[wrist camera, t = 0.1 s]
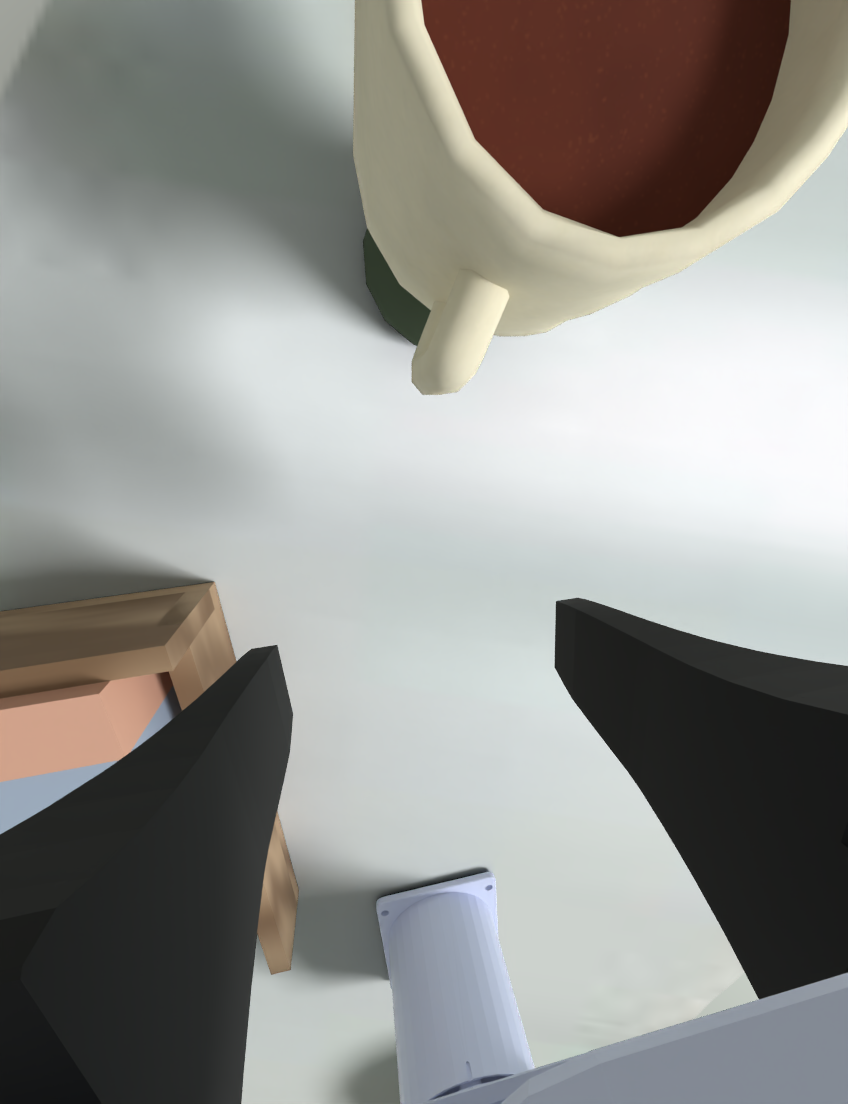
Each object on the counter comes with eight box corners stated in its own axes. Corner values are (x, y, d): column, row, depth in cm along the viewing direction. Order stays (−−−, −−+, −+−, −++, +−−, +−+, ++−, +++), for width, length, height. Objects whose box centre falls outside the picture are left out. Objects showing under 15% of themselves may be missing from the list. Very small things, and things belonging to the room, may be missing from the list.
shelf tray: (298, 890, 26) (286, 1009, 21) (144, 926, 25) (91, 1061, 20) (214, 582, 19) (164, 645, 14) (-4, 611, 18) (-145, 693, 13)
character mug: (463, 434, 19) (659, 477, 7) (309, 364, 17) (217, 258, 5) (577, 170, 17) (1186, -468, 5) (412, 54, 15) (703, -1580, 3)
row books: (199, 714, 21) (149, 816, 15) (65, 738, 20) (-35, 853, 15) (167, 615, 19) (99, 693, 14) (18, 637, 18) (-114, 728, 13)
